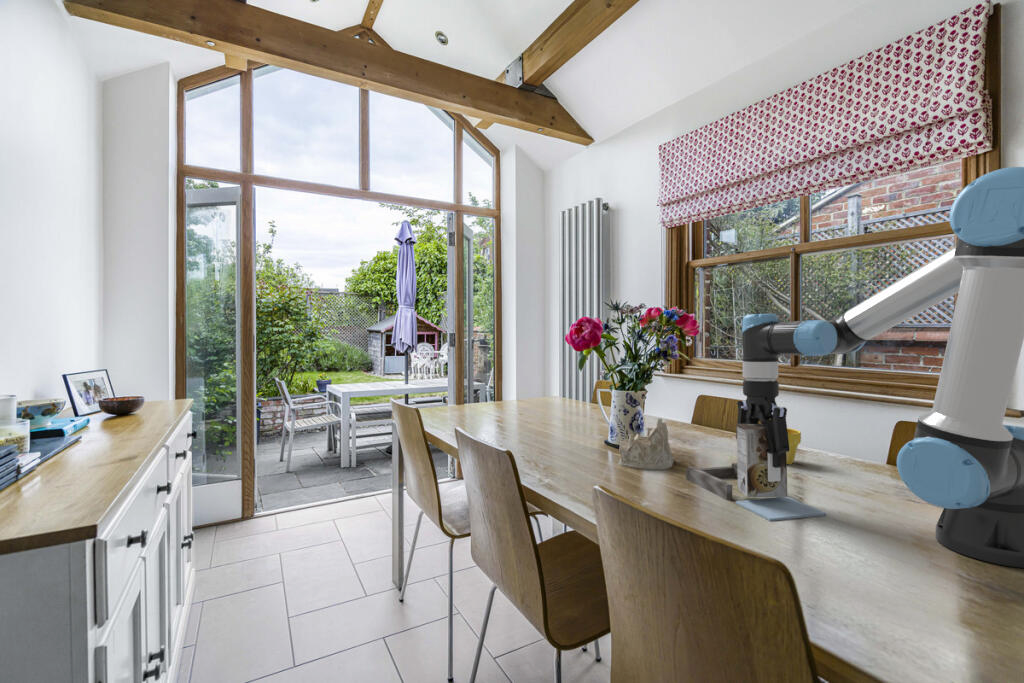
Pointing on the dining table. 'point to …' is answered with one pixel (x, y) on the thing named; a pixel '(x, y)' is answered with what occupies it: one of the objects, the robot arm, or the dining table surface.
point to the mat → (780, 508)
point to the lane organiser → (714, 479)
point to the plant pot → (792, 444)
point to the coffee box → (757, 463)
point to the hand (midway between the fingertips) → (761, 475)
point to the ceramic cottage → (647, 449)
